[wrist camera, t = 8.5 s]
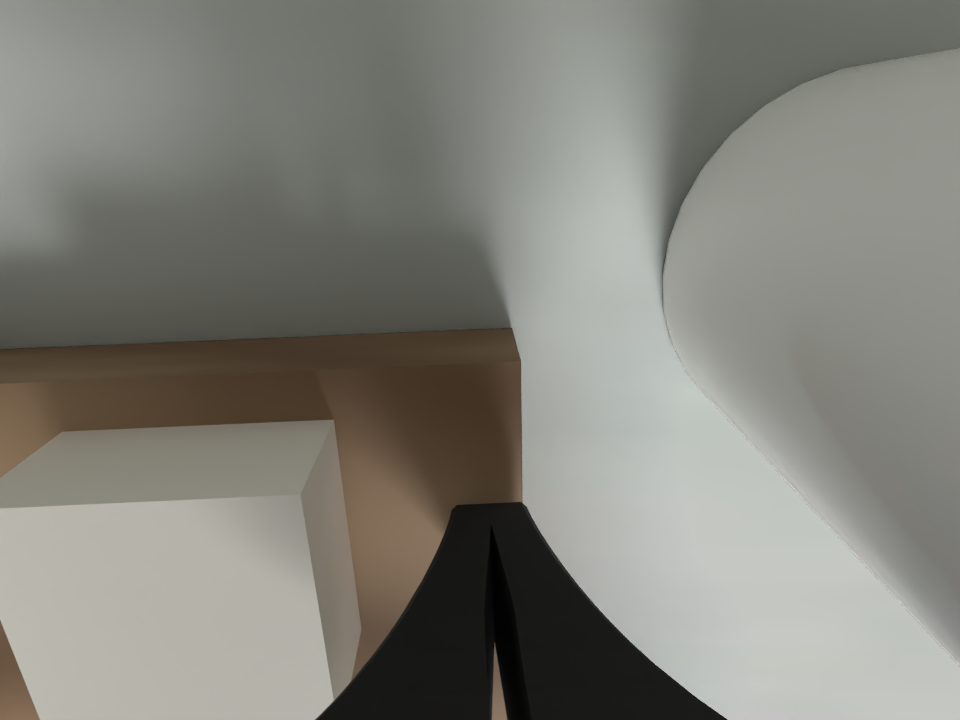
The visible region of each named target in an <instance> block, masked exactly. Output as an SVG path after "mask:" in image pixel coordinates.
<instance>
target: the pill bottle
mask: <svg viewBox="0 0 960 720" xmlns="http://www.w3.org/2000/svg"><path fill="white" fill-rule="evenodd" d="M663 308H664V315H665V319H666V323H667V327H668V332H669V336H670V340H671V344H672V346H673V348H674V350H675V352H676V354H677V356H678V358H679V360H680V362H681V364H682V366H683V368H684V370H685V372H686V373H687V374H688V375H689V377H690V378H691V379H692V380H693V381H694V383H695V384H696V385H697V386H698V387H699V389H700V390H701V391H702V392H703V394H704V395H705V396H706V397H707V398H708V399H709V400H710V401H711V402H712V404H713V405H714V406H715V407H716V408H717V409H718V410H719V411H720V412H721V413H722V414H723V415H724V416H725V417H726V418H727V420H728V421H729V422H730V423H731V424H732V425H733V426H734V427H735V428H736V429H737V430H738V431H739V432H740V433H741V434H742V436H743V437H744V438H745V439H746V440H747V441H748V442H749V443H750V444H751V445H752V446H753V447H754V448H755V449H756V450H757V452H758V453H759V454H760V455H761V456H762V457H763V458H764V459H765V460H766V461H767V462H768V463H769V464H770V465H771V466H772V468H773V469H774V470H775V471H776V472H777V473H778V474H779V475H780V476H781V477H782V478H783V479H784V480H785V481H786V482H787V484H788V485H789V486H790V487H791V488H792V489H793V490H794V491H795V492H796V493H797V494H798V495H799V496H800V497H801V498H802V500H803V501H804V502H805V503H806V504H807V505H808V506H809V507H810V508H811V509H812V510H813V511H814V512H815V513H816V514H817V516H818V517H819V518H820V519H821V520H822V521H823V522H824V523H825V524H826V525H827V526H828V527H829V528H830V529H831V530H832V532H833V533H834V534H835V535H836V536H837V537H838V538H839V539H840V540H841V541H842V542H843V543H844V544H845V545H846V546H847V548H848V549H849V550H850V551H851V552H852V553H853V554H854V555H855V556H856V557H857V558H858V559H859V560H860V561H861V562H862V564H863V565H864V566H865V567H866V568H867V569H868V570H869V571H870V572H871V573H872V574H873V575H874V576H875V577H876V578H877V580H878V581H879V582H880V583H881V584H882V585H883V586H884V587H885V588H886V589H887V590H888V591H889V592H890V593H891V594H892V596H893V597H894V598H895V599H896V600H897V601H898V602H899V603H900V604H901V605H902V606H903V607H904V608H905V609H906V610H907V612H908V613H909V614H910V615H911V616H912V617H913V618H914V619H915V620H916V621H917V622H918V623H919V624H920V625H921V626H922V628H923V629H924V630H925V631H926V632H927V633H928V634H929V635H930V636H931V637H932V638H933V639H934V640H935V641H936V642H937V644H938V645H939V646H940V647H941V648H942V649H943V650H944V651H945V652H946V653H947V654H948V655H949V656H950V657H951V658H952V660H953V661H954V662H955V663H956V664H957V665H958V666H959V667H960V48H958V49H953V50H947V51H941V52H935V53H929V54H923V55H918V56H912V57H906V58H900V59H894V60H888V61H883V62H877V63H871V64H865V65H859V66H853V67H848V68H843V69H840V70H837V71H835V72H832V73H829V74H826V75H824V76H821V77H818V78H815V79H812V80H810V81H807V82H804V83H802V84H800V85H798V86H796V87H795V88H793V89H791V90H790V91H788V92H786V93H785V94H783V95H781V96H779V97H778V98H776V99H774V100H773V101H771V102H769V103H767V104H766V105H764V106H763V107H762V108H761V109H759V110H758V111H757V112H756V113H755V114H754V115H752V116H751V117H750V118H749V119H748V120H746V121H745V122H744V123H743V124H742V125H741V126H739V127H738V128H737V129H736V130H735V131H734V132H732V133H731V134H730V135H729V137H728V138H727V139H726V140H725V141H724V143H723V144H722V145H721V146H720V147H719V148H718V150H717V151H716V152H715V153H714V154H713V156H712V157H711V158H710V159H709V160H708V162H707V163H706V164H705V165H704V166H703V168H702V170H701V171H700V173H699V175H698V177H697V178H696V180H695V182H694V183H693V185H692V187H691V189H690V190H689V192H688V194H687V196H686V197H685V199H684V201H683V202H682V205H681V208H680V210H679V213H678V216H677V219H676V221H675V224H674V227H673V229H672V232H671V235H670V238H669V241H668V247H667V253H666V259H665V265H664V271H663Z"/></svg>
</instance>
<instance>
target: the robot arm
mask: <svg viewBox="0 0 960 720" xmlns="http://www.w3.org/2000/svg"><path fill="white" fill-rule="evenodd" d="M494 644H495V647H496V653H497V659H498V666H499V672H500V678H501V684H502V690H503V696H504V703H505V709H506V715H507V720H727V719H726V718H724V717H723V716H722V715H720V714H719V713H717V712H716V711H714V710H713V709H712V708H710V707H709V706H707V705H706V704H705V703H703V702H702V701H700V700H699V699H697V698H696V697H695V696H694V695H692V694H691V693H690V692H689V691H687V690H686V689H685V688H684V687H682V686H681V685H680V684H679V683H677V682H676V681H675V680H674V679H672V678H671V677H670V676H669V675H667V674H666V673H665V672H664V671H663V670H661V669H660V668H659V667H658V666H656V665H655V664H654V663H653V662H652V661H651V660H649V659H648V658H647V657H646V656H645V655H644V654H643V653H642V652H641V651H640V650H639V649H637V648H636V647H635V646H634V645H633V644H632V643H631V642H630V641H629V640H628V639H627V638H626V637H625V636H624V635H623V634H622V633H621V632H620V631H619V630H618V629H617V628H616V627H615V626H614V625H613V624H612V623H611V622H610V621H609V620H608V619H607V618H606V617H605V616H604V615H603V613H602V612H601V611H600V610H599V609H598V608H597V607H596V606H595V605H594V603H593V602H592V601H591V600H590V599H589V598H588V596H587V595H586V594H585V593H584V592H583V590H582V589H581V588H580V587H579V586H578V584H577V583H576V582H575V581H574V579H573V578H572V577H571V576H570V574H569V573H568V571H567V570H566V569H565V567H564V566H563V565H562V563H561V562H560V561H559V559H558V558H557V557H556V555H555V554H554V552H553V551H552V549H551V548H550V547H549V545H548V544H547V542H546V540H545V539H544V537H543V536H542V534H541V533H540V531H539V529H538V528H537V526H536V524H535V522H534V521H533V519H532V517H531V515H530V513H529V511H528V509H527V507H526V506H525V505H524V504H523V503H522V502H509V503H487V504H464V505H456V506H455V507H454V508H453V509H452V510H451V514H450V518H449V522H448V525H447V528H446V530H445V533H444V536H443V538H442V540H441V543H440V545H439V547H438V550H437V552H436V554H435V556H434V558H433V560H432V562H431V564H430V566H429V568H428V570H427V572H426V574H425V576H424V578H423V579H422V581H421V583H420V585H419V586H418V588H417V590H416V591H415V593H414V595H413V597H412V598H411V600H410V602H409V603H408V605H407V607H406V608H405V610H404V612H403V613H402V615H401V616H400V618H399V619H398V621H397V622H396V624H395V625H394V627H393V628H392V629H391V631H390V632H389V634H388V635H387V637H386V638H385V639H384V641H383V642H382V643H381V645H380V646H379V647H378V649H377V650H376V651H375V653H374V654H373V655H372V657H371V658H370V659H369V660H368V661H367V663H366V664H365V665H364V666H363V668H362V669H361V670H360V671H359V672H358V674H357V675H356V676H355V677H354V679H353V680H352V681H351V682H350V683H349V684H348V686H347V687H346V688H345V689H344V690H343V691H342V692H341V693H340V695H339V696H338V697H337V698H336V699H335V700H334V701H333V702H332V703H331V704H330V705H329V706H328V707H327V708H326V709H325V710H324V711H323V712H322V713H321V714H320V715H319V716H318V717H317V718H316V719H315V720H492V702H493V673H494Z"/></svg>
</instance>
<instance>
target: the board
mask: <svg viewBox="0 0 960 720" xmlns="http://www.w3.org/2000/svg"><path fill="white" fill-rule="evenodd" d="M313 420H334V426H335V433H336V441H337V448H338V456H339V463H340V471H341V478H342V486H343V494H344V501H345V509H346V516H347V524H348V531H349V539H350V546H351V554H352V562H353V569H354V577H355V584H356V592H357V599H358V607H359V614H360V622H361V634H360V639H359V644H358V649H357V654H356V659H355V664H354V669H353V674H352V679H351V681H352V680H353V679H354V677H355V676H356V675H357V674H358V672H359V671H360V670H361V669H362V668H363V666H364V665H365V664H366V663H367V661H368V660H369V659H370V658H371V657H372V655H373V654H374V653H375V651H376V650H377V649H378V647H379V646H380V645H381V643H382V642H383V641H384V639H385V638H386V637H387V635H388V634H389V632H390V631H391V629H392V628H393V627H394V625H395V624H396V622H397V621H398V619H399V618H400V616H401V615H402V613H403V612H404V610H405V608H406V607H407V605H408V603H409V602H410V600H411V598H412V597H413V595H414V593H415V591H416V590H417V588H418V586H419V585H420V583H421V581H422V579H423V578H424V576H425V574H426V572H427V570H428V568H429V566H430V564H431V562H432V560H433V558H434V556H435V554H436V552H437V550H438V547H439V545H440V543H441V540H442V538H443V536H444V533H445V530H446V528H447V525H448V522H449V518H450V514H451V510H452V509H453V508H454V507H455V506H456V505H464V504H487V503H509V502H522V424H521V360H520V356H519V353H518V349H517V345H516V341H515V338H514V334H513V330H512V328H502V329H478V330H455V331H431V332H407V333H384V334H360V335H336V336H313V337H289V338H265V339H241V340H218V341H194V342H170V343H147V344H123V345H99V346H75V347H52V348H28V349H4V350H0V478H1V477H2V476H4V475H5V474H6V473H8V472H9V471H10V470H12V469H13V468H14V467H16V466H17V465H18V464H20V463H21V462H22V461H24V460H25V459H26V458H28V457H29V456H30V455H32V454H33V453H34V452H36V451H37V450H38V449H40V448H41V447H42V446H44V445H45V444H46V443H48V442H49V441H50V440H52V439H53V438H54V437H56V436H57V435H58V434H60V433H61V432H66V431H88V430H110V429H133V428H155V427H178V426H200V425H223V424H245V423H268V422H290V421H313ZM0 720H40V719H39V716H38V714H37V711H36V708H35V706H34V703H33V701H32V698H31V696H30V693H29V691H28V688H27V686H26V683H25V681H24V678H23V676H22V673H21V671H20V668H19V666H18V663H17V661H16V658H15V656H14V653H13V651H12V648H11V646H10V643H9V641H8V638H7V636H6V633H5V631H4V628H3V626H2V623H1V621H0ZM492 720H507V715H506V709H505V703H504V696H503V690H502V684H501V678H500V672H499V666H498V659H497V653H496V647H495V644H494V673H493V702H492Z"/></svg>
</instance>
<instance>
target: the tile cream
mask: <svg viewBox="0 0 960 720" xmlns="http://www.w3.org/2000/svg"><path fill="white" fill-rule="evenodd" d="M0 621H1V623H2V626H3V628H4V631H5V633H6V636H7V638H8V641H9V643H10V646H11V648H12V651H13V653H14V656H15V658H16V661H17V663H18V666H19V668H20V671H21V673H22V676H23V678H24V681H25V683H26V686H27V688H28V691H29V693H30V696H31V698H32V701H33V703H34V706H35V708H36V711H37V714H38V716H39V719H40V720H315V719H316V718H317V717H318V716H319V715H320V714H321V713H322V712H323V711H324V710H325V709H326V708H327V707H328V706H329V705H330V704H331V703H332V702H333V701H334V700H335V699H336V698H337V697H338V696H339V695H340V693H341V692H342V691H343V690H344V689H345V688H346V687H347V686H348V684H349V683H350V682H351V679H352V674H353V669H354V664H355V659H356V654H357V649H358V644H359V639H360V634H361V622H360V614H359V607H358V599H357V592H356V584H355V577H354V569H353V562H352V554H351V546H350V539H349V531H348V524H347V516H346V509H345V501H344V494H343V486H342V478H341V471H340V463H339V456H338V448H337V441H336V433H335V426H334V420H313V421H290V422H268V423H245V424H223V425H200V426H178V427H155V428H133V429H110V430H88V431H66V432H61V433H60V434H58V435H57V436H56V437H54V438H53V439H52V440H50V441H49V442H48V443H46V444H45V445H44V446H42V447H41V448H40V449H38V450H37V451H36V452H34V453H33V454H32V455H30V456H29V457H28V458H26V459H25V460H24V461H22V462H21V463H20V464H18V465H17V466H16V467H14V468H13V469H12V470H10V471H9V472H8V473H6V474H5V475H4V476H2V477H1V478H0Z"/></svg>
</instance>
